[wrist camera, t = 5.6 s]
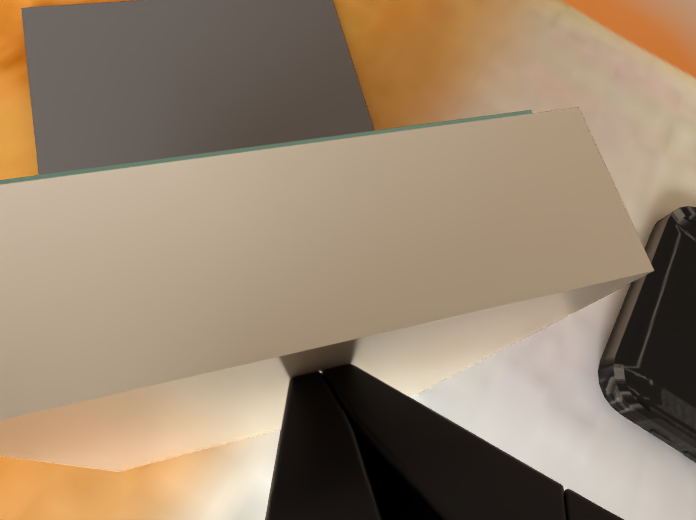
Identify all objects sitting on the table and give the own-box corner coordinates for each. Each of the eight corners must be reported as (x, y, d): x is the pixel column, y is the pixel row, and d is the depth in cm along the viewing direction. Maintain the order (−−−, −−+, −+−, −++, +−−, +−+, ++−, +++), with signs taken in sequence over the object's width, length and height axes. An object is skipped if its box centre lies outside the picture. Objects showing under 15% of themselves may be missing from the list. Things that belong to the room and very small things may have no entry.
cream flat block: (418, 393, 16) (653, 270, 7) (119, 472, 14) (-99, 442, 5) (390, 303, 17) (570, 88, 8) (105, 365, 15) (-104, 171, 6)
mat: (416, 277, 17) (420, 273, 17) (61, 350, 15) (56, 347, 14) (327, -4, 21) (328, -12, 20) (25, 17, 18) (21, 8, 18)
